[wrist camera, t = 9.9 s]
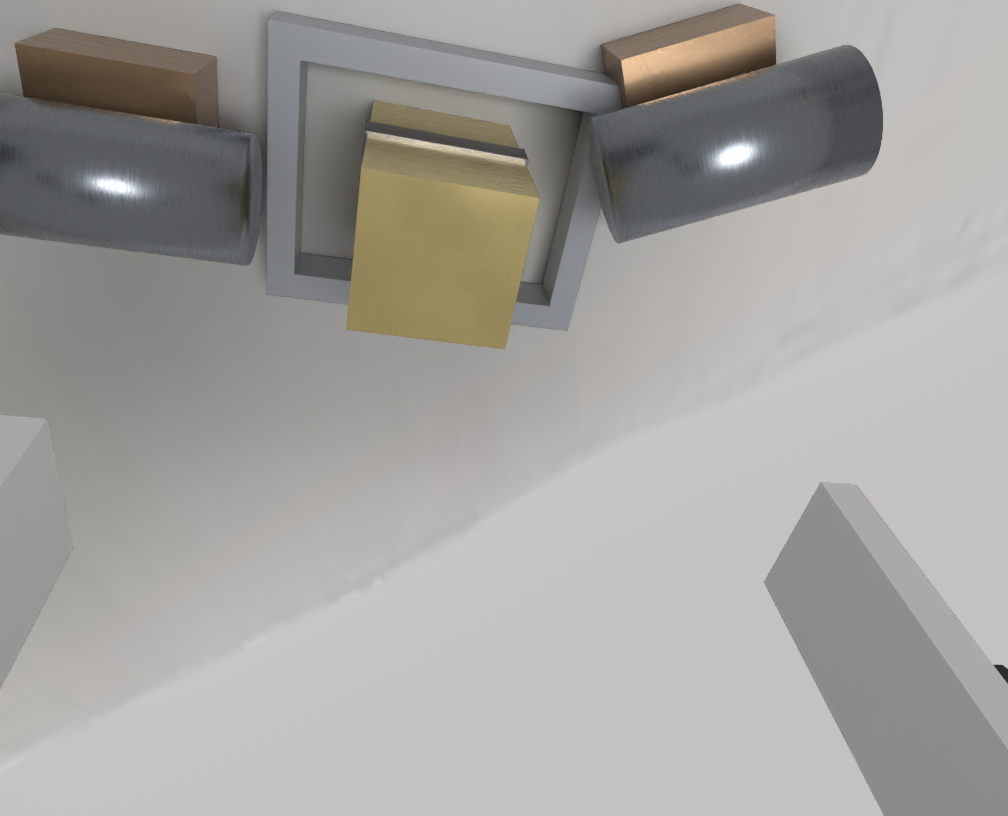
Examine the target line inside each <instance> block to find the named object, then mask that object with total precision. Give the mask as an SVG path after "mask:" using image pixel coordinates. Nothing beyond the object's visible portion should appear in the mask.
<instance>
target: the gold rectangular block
mask: <svg viewBox="0 0 1008 816" xmlns="http://www.w3.org/2000/svg"><path fill="white" fill-rule="evenodd" d="M527 165H528V157H527V155H526V153H525V151H524V149H520V148H519V147H518V145H517V142H516V140H515V138H514V135H513V133H512V130H511V128H510V126H509V125H504V124H498V123H493V122H488V121H482V120H477V119H472V118H466V117H461V116H456V115H450V114H445V113H439V112H434V111H429V110H423V109H418V108H413V107H407V106H402V105H397V104H391V103H386V102H381V101H375V100H374V104H373V109H372V114H371V119H370V121H366V126H365V132H364V143H363V154H362V165H361V175H360V186H359V197H358V208H357V219H356V230H355V241H354V252H353V263H352V274H351V286H350V297H349V308H348V319H347V330H354V331H362V332H370V333H378V334H386V335H395V336H403V337H411V338H419V339H427V340H435V341H443V342H451V343H459V344H467V345H475V346H483V347H491V348H499V349H505V346H506V342H507V337H508V333H509V329H510V325H511V320H512V316H513V312H514V307H515V303H516V299H517V294H518V290H519V286H520V282H521V277H522V273H523V269H524V264H525V260H526V256H527V251H528V247H529V243H530V239H531V234H532V230H533V226H534V221H535V217H536V213H537V208H538V204H539V200H540V197H539V195H538V193H537V190H536V188H535V185H534V183H533V181H532V178H531V176H530V173H529V171H528V169H527Z"/></svg>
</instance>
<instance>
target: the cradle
mask: <svg viewBox="0 0 1008 816" xmlns="http://www.w3.org/2000/svg"><path fill="white" fill-rule="evenodd" d="M307 62H313V63H319V64H324V65H330V66H335V67H341V68H346V69H352V70H357V71H363V72H368V73H374V74H379V75H385V76H390V77H396V78H401V79H407V80H412V81H418V82H424V83H429V84H435V85H440V86H446V87H451V88H457V89H462V90H468V91H473V92H479V93H484V94H490V95H495V96H501V97H506V98H512V99H517V100H523V101H528V102H534V103H540V104H545V105H551V106H556V107H562V108H567V109H573V110H578V111H584V112H583V116H582V120H581V124H580V129H579V133H578V137H577V141H576V145H575V150H574V154H573V158H572V162H571V166H570V171H569V175H568V179H567V183H566V187H565V192H564V196H563V200H562V204H561V208H560V213H559V217H558V221H557V225H556V229H555V234H554V238H553V242H552V246H551V250H550V255H549V259H548V263H547V267H546V271H545V276H544V280H543V284H542V285H540V284H532V283H525V282H520V286H519V290H518V294H517V299H516V303H515V307H514V312H513V316H512V320H511V324H514V325H523V326H531V327H539V328H548V329H556V330H564V331H568V327H569V323H570V320H571V316H572V312H573V308H574V305H575V301H576V297H577V294H578V290H579V286H580V283H581V279H582V275H583V271H584V268H585V264H586V260H587V257H588V253H589V249H590V245H591V242H592V238H593V234H594V231H595V227H596V223H597V219H598V216H599V212H600V208H601V202H600V198H599V194H598V190H597V186H596V182H595V177H594V172H593V167H592V161H591V155H590V148H589V139H588V123H589V120H590V119H591V118H594V117H597V116H601V115H604V114H608V113H611V112H615V111H618V110H622V105H621V98H620V92H619V86H618V85H617V84H616V83H615V82H614V81H613V80H612V79H611V78H609V77H608V76H607V75H606V74H602V73H597V72H592V71H586V70H581V69H576V68H571V67H566V66H560V65H555V64H550V63H545V62H540V61H534V60H529V59H524V58H519V57H514V56H508V55H503V54H498V53H493V52H488V51H482V50H477V49H472V48H467V47H462V46H456V45H451V44H446V43H441V42H436V41H431V40H425V39H420V38H415V37H410V36H405V35H399V34H394V33H389V32H384V31H379V30H373V29H368V28H363V27H358V26H353V25H347V24H342V23H337V22H332V21H327V20H321V19H316V18H311V17H306V16H301V15H295V14H290V13H285V12H280V11H277V12H276V13H275V14H274V15H273V16H271V17H270V18H269V19H268V112H267V280H266V295H273V296H281V297H290V298H298V299H306V300H315V301H323V302H331V303H340V304H348V305H349V297H350V286H351V274H352V263H353V260H350V259H342V258H335V257H327V256H320V255H312V254H304V253H301V230H302V201H303V171H304V142H305V112H306V82H307Z"/></svg>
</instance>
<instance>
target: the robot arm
mask: <svg viewBox="0 0 1008 816" xmlns="http://www.w3.org/2000/svg"><path fill="white" fill-rule="evenodd" d="M72 549H73V543H72V538H71V533H70V528H69V523H68V518H67V513H66V508H65V503H64V498H63V493H62V488H61V483H60V479H59V474H58V469H57V464H56V459H55V454H54V449H53V444H52V439H51V434H50V429H49V424H48V419H46V418H33V417H21V416H9V415H0V689H1V687H2V685H3V683H4V681H5V679H6V677H7V675H8V673H9V671H10V669H11V667H12V666H13V664H14V662H15V660H16V658H17V656H18V654H19V652H20V650H21V648H22V646H23V644H24V642H25V640H26V638H27V636H28V634H29V632H30V630H31V629H32V627H33V625H34V623H35V621H36V619H37V617H38V615H39V613H40V611H41V609H42V607H43V605H44V603H45V601H46V599H47V597H48V595H49V594H50V592H51V590H52V588H53V586H54V584H55V582H56V580H57V578H58V576H59V574H60V572H61V570H62V568H63V566H64V564H65V562H66V560H67V559H68V557H69V555H70V553H71V551H72ZM764 584H765V586H766V587H767V589H768V591H769V593H770V595H771V597H772V599H773V601H774V603H775V605H776V607H777V609H778V611H779V613H780V615H781V617H782V619H783V621H784V623H785V624H786V626H787V628H788V630H789V632H790V634H791V636H792V638H793V640H794V642H795V644H796V646H797V648H798V650H799V652H800V654H801V656H802V657H803V659H804V661H805V663H806V665H807V667H808V669H809V671H810V673H811V675H812V677H813V679H814V681H815V683H816V685H817V687H818V688H819V691H820V692H821V694H822V696H823V698H824V700H825V702H826V704H827V706H828V708H829V710H830V712H831V714H832V716H833V718H834V719H835V722H836V724H837V726H838V727H839V729H840V731H841V733H842V735H843V737H844V739H845V741H846V743H847V745H848V747H849V748H850V751H851V753H852V755H853V757H854V759H855V760H856V762H857V764H858V766H859V768H860V770H861V772H862V774H863V776H864V778H865V780H866V782H867V784H868V785H869V788H870V790H871V792H872V794H873V795H874V797H875V799H876V801H877V803H878V805H879V807H880V809H881V811H882V813H883V815H884V816H1008V669H1007V668H1005V667H1004V666H1003V665H993V664H992V663H991V661H990V660H989V659H988V657H987V656H986V655H985V654H984V652H983V651H982V650H981V648H980V647H979V646H978V644H977V643H976V641H975V640H974V639H973V638H972V636H971V635H970V634H969V632H968V631H967V630H966V628H965V627H964V626H963V624H962V623H961V622H960V620H959V619H958V618H957V617H956V615H955V614H954V612H953V611H952V610H951V609H950V607H949V606H948V605H947V603H946V602H945V601H944V599H943V598H942V597H941V595H940V594H939V593H938V591H937V590H936V589H935V587H934V586H933V585H932V583H931V582H930V581H929V579H928V578H927V577H926V575H925V574H924V573H923V572H922V570H921V569H920V568H919V566H918V565H917V564H916V562H915V561H914V560H913V558H912V557H911V556H910V554H909V553H908V552H907V550H906V549H905V548H904V546H903V545H902V544H901V542H900V541H899V540H898V538H897V537H896V536H895V535H894V534H893V532H892V531H891V529H890V528H889V527H888V525H887V524H886V523H885V522H884V520H883V519H882V517H880V515H879V513H878V512H877V511H876V509H875V508H874V507H873V505H872V504H871V503H870V502H869V500H868V499H867V498H866V496H865V495H864V494H863V492H862V491H861V490H860V488H859V487H858V486H857V485H852V484H839V483H827V482H820V484H819V486H818V488H817V489H816V491H815V493H814V495H813V496H812V498H811V500H810V502H809V504H808V505H807V507H806V509H805V510H804V512H803V514H802V516H801V518H800V520H799V521H798V523H797V525H796V526H795V528H794V530H793V532H792V533H791V535H790V537H789V539H788V540H787V542H786V544H785V546H784V548H783V549H782V551H781V553H780V555H779V556H778V558H777V560H776V562H775V563H774V565H773V567H772V569H771V570H770V572H769V574H768V576H767V578H766V579H765V581H764Z"/></svg>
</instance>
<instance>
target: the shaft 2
mask: <svg viewBox="0 0 1008 816" xmlns="http://www.w3.org/2000/svg"><path fill="white" fill-rule="evenodd" d="M601 46H602V52H603V58H604V65H605V71H606V75H607V76H608V77H609V78H611V79H612V80H613V81H614V82H615V83H616V84H617V85H618V86H619V92H620V98H621V105H622V110H618V111H615V112H611V113H608V114H604V115H601V116H597V117H594V118H591V119H590V120H589V123H588V139H589V148H590V155H591V161H592V167H593V172H594V177H595V182H596V186H597V190H598V194H599V198H600V202H601V205H602V209H603V212H604V215H605V218H606V221H607V224H608V227H609V229H610V232H611V234H612V236H613V238H614V240H615V241H616V242H617V243H618V244H619V243H622V242H626V241H629V240H633V239H637V238H640V237H644V236H647V235H651V234H655V233H658V232H662V231H665V230H669V229H673V228H676V227H680V226H683V225H687V224H691V223H694V222H698V221H701V220H705V219H708V218H712V217H716V216H719V215H723V214H726V213H730V212H734V211H737V210H741V209H744V208H748V207H752V206H755V205H759V204H762V203H766V202H770V201H773V200H777V199H780V198H784V197H787V196H791V195H795V194H798V193H802V192H805V191H809V190H813V189H816V188H820V187H823V186H827V185H831V184H834V183H838V182H841V181H845V180H849V179H852V178H856V177H859V176H863V175H864V174H866V173H867V172H868V171H869V170H870V169H871V168H872V166H873V165H874V163H875V161H876V159H877V156H878V153H879V150H880V146H881V140H882V132H883V111H882V102H881V96H880V91H879V87H878V83H877V80H876V77H875V74H874V72H873V69H872V67H871V65H870V64H869V62H868V60H867V59H866V57H865V56H864V55H863V54H862V52H861V51H860V50H858V49H857V48H855V47H853V46H851V45H842V46H839V47H835V48H832V49H828V50H825V51H822V52H818V53H815V54H811V55H808V56H804V57H801V58H797V59H794V60H791V61H787V62H784V63H780V64H777V65H776V47H775V15H773V14H770V13H767V12H764V11H761V10H758V9H755V8H752V7H749V6H746V5H743V4H737V5H734V6H730V7H727V8H723V9H720V10H717V11H713V12H710V13H707V14H703V15H700V16H696V17H693V18H690V19H686V20H683V21H679V22H676V23H673V24H669V25H666V26H663V27H659V28H656V29H652V30H649V31H646V32H642V33H639V34H636V35H632V36H629V37H625V38H622V39H619V40H615V41H612V42H609V43H605V44H602V45H601Z"/></svg>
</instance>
